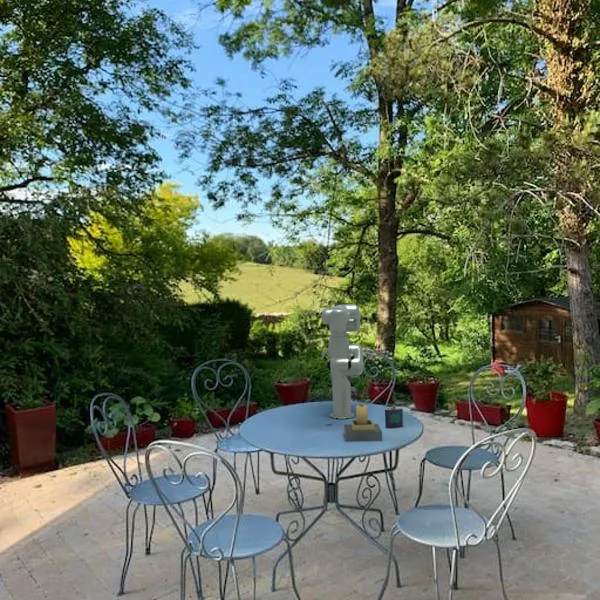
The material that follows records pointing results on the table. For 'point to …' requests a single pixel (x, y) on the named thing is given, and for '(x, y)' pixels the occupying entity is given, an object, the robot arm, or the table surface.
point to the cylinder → (361, 414)
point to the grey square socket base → (362, 432)
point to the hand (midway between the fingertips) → (339, 369)
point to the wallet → (393, 417)
